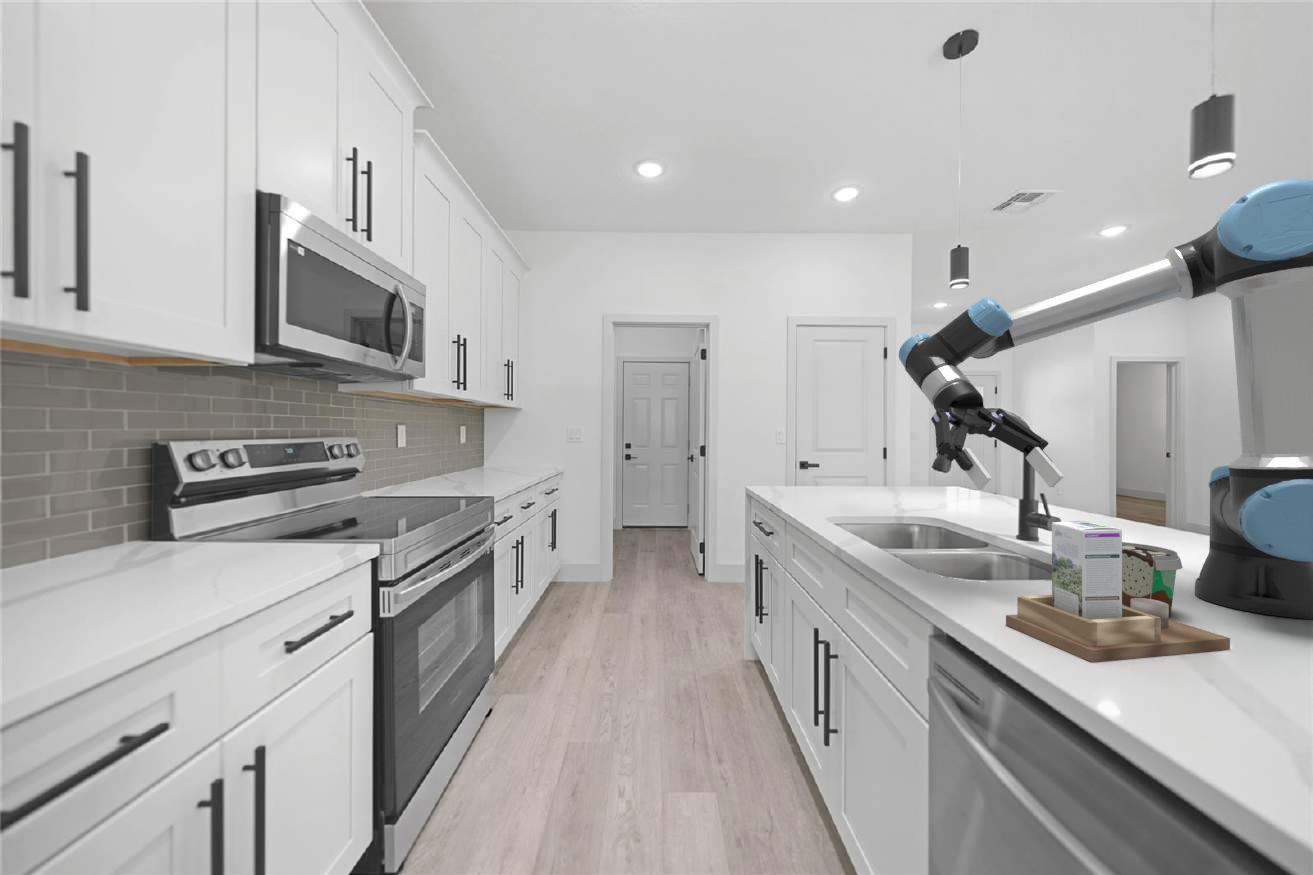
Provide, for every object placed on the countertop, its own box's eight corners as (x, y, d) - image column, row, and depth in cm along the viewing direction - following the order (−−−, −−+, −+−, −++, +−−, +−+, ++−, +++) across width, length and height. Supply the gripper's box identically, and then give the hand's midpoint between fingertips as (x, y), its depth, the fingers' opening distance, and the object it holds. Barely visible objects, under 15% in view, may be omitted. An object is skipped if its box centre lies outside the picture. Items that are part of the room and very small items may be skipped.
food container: (1204, 625, 80) (1205, 558, 79) (1156, 622, 81) (1156, 556, 81) (1146, 600, 92) (1147, 542, 92) (1105, 597, 93) (1105, 540, 93)
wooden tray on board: (1127, 616, 84) (1127, 587, 83) (1230, 649, 71) (1230, 615, 71) (1005, 625, 80) (1006, 595, 79) (1091, 662, 67) (1091, 626, 67)
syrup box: (1124, 635, 72) (1125, 527, 71) (1080, 635, 71) (1081, 527, 71) (1089, 620, 77) (1090, 520, 77) (1049, 620, 77) (1049, 520, 77)
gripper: (997, 410, 105) (1070, 495, 90) (883, 410, 100) (941, 499, 86) (1021, 381, 100) (1102, 465, 85) (902, 379, 95) (966, 468, 80)
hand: (1021, 483), depth 85 cm, fingers open, 13 cm apart
